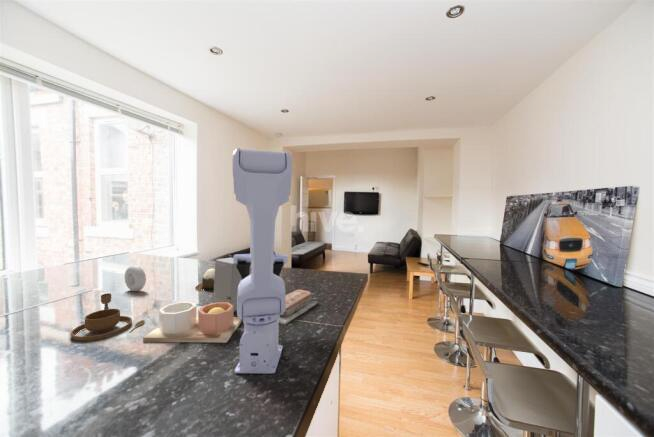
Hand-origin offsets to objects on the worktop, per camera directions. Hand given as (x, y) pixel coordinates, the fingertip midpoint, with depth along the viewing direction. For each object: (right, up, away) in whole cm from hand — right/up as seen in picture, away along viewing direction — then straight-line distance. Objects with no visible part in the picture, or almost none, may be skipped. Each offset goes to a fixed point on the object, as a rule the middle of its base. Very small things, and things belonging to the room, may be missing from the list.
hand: (261, 288), depth 69 cm
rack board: (-16, -10, -3) cm, 19 cm away
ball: (-11, -7, -3) cm, 13 cm away
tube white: (-21, -10, -3) cm, 24 cm away
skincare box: (-13, -10, +12) cm, 21 cm away
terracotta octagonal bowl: (-11, -10, -3) cm, 15 cm away
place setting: (-41, -11, +1) cm, 43 cm away
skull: (-29, -9, +34) cm, 45 cm away
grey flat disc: (-55, -9, +27) cm, 62 cm away
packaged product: (+6, -11, +11) cm, 17 cm away
